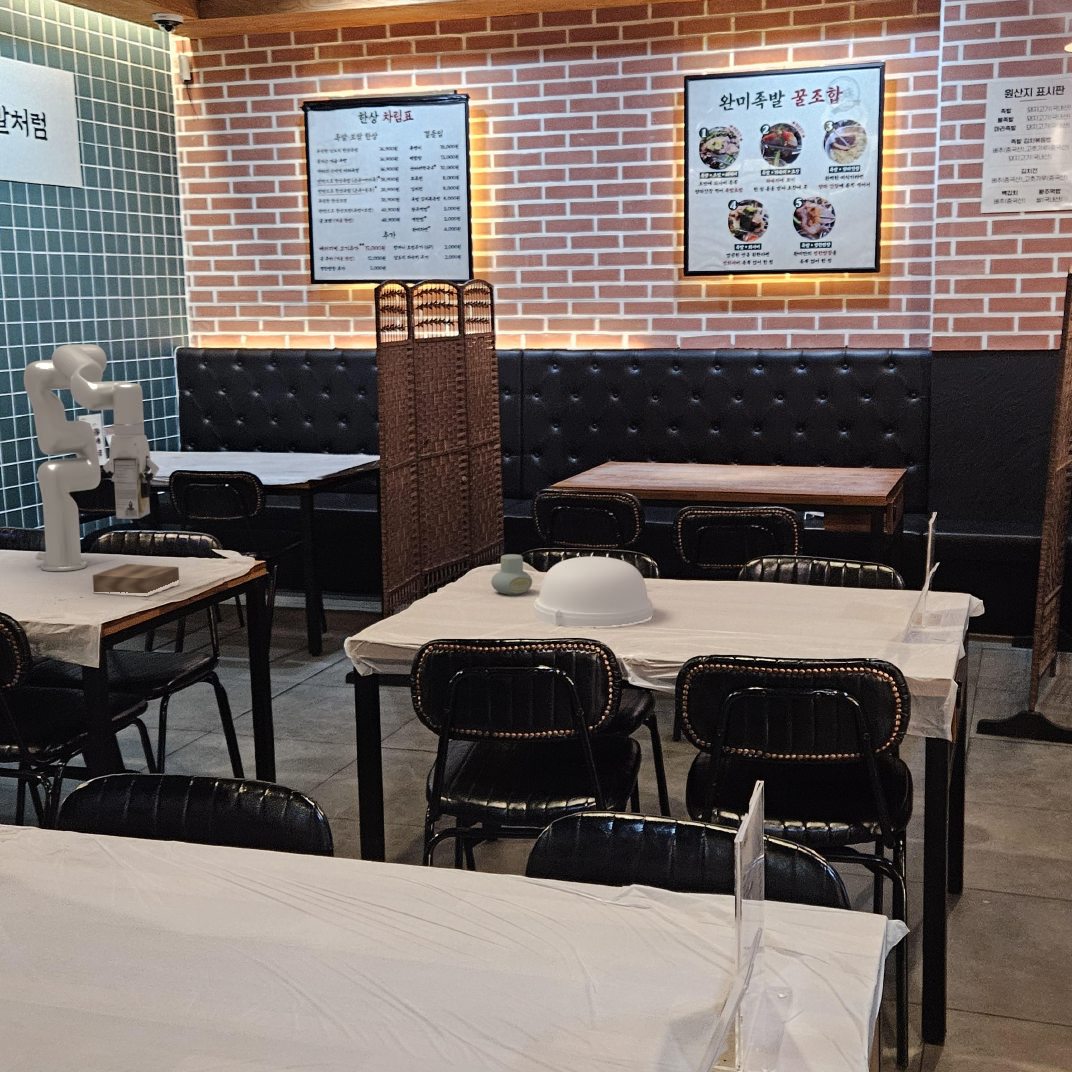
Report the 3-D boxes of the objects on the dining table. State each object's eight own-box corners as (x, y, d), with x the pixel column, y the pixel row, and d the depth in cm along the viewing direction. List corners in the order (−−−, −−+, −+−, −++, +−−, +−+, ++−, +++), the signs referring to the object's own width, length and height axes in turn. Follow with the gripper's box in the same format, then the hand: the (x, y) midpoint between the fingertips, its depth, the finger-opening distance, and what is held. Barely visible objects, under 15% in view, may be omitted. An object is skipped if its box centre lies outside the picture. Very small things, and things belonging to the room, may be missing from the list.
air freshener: (502, 598, 347) (502, 560, 345) (486, 592, 354) (486, 555, 352) (537, 593, 353) (537, 556, 351) (520, 587, 360) (520, 551, 358)
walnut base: (93, 593, 351) (92, 574, 350) (128, 581, 366) (127, 563, 365) (146, 597, 347) (145, 578, 346) (179, 585, 362) (178, 567, 361)
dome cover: (581, 596, 351) (581, 544, 348) (678, 611, 333) (679, 557, 331) (506, 618, 326) (506, 562, 323) (607, 636, 308) (607, 577, 305)
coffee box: (127, 513, 357) (124, 454, 355) (150, 513, 357) (147, 454, 355) (115, 518, 348) (112, 458, 346) (139, 519, 348) (136, 458, 345)
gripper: (92, 430, 348) (95, 497, 351) (150, 432, 343) (153, 500, 346) (108, 428, 355) (112, 493, 358) (166, 430, 350) (168, 496, 353)
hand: (132, 496), depth 352 cm, fingers closed on coffee box, 7 cm apart
